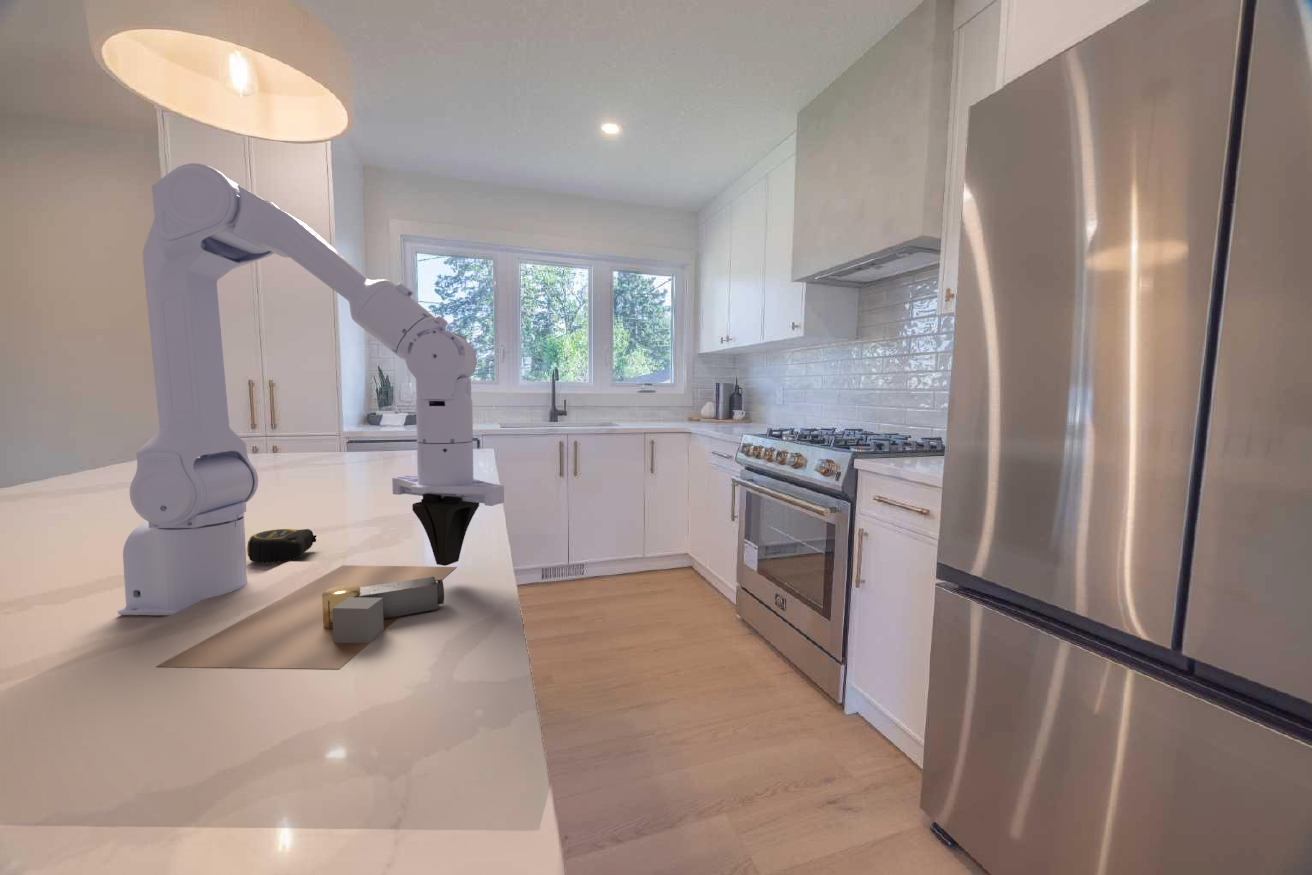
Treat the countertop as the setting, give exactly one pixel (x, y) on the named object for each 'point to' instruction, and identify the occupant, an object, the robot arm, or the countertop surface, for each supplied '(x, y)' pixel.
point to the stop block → (357, 620)
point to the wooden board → (295, 626)
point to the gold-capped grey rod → (389, 597)
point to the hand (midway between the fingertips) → (447, 562)
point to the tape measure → (279, 545)
